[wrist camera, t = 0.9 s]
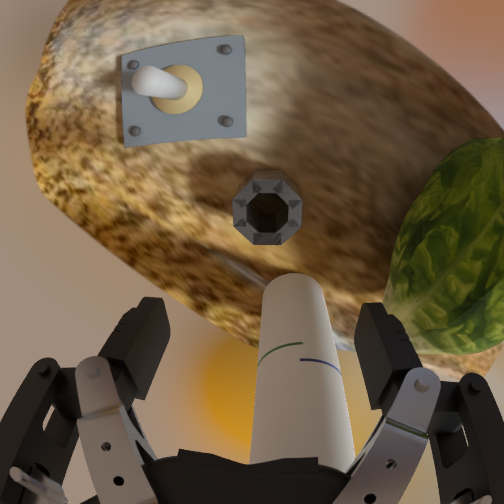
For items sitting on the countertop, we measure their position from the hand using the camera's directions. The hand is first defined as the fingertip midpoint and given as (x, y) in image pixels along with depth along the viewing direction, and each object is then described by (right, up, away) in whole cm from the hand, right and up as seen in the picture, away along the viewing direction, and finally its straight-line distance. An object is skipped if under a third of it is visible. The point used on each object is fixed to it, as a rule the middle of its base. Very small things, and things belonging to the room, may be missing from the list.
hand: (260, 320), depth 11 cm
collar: (+1, +8, +16) cm, 18 cm away
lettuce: (+21, +5, +16) cm, 27 cm away
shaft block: (-7, +18, +12) cm, 23 cm away
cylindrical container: (+4, -3, +21) cm, 22 cm away
